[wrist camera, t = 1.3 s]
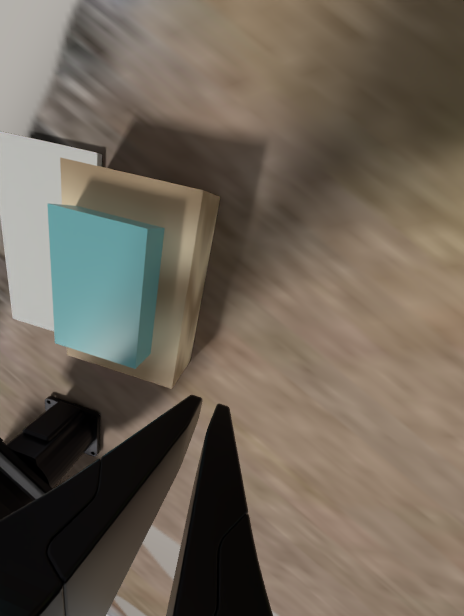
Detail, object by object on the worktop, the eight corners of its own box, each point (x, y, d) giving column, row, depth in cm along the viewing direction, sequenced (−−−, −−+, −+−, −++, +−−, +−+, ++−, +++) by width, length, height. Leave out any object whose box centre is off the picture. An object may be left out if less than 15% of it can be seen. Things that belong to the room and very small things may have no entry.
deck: (190, 361, 22) (171, 388, 19) (101, 333, 23) (66, 354, 20) (220, 197, 17) (203, 190, 14) (105, 170, 18) (60, 157, 15)
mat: (98, 341, 24) (94, 344, 23) (17, 316, 25) (12, 318, 24) (102, 154, 18) (97, 152, 17) (-3, 130, 19) (-11, 128, 18)
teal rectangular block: (150, 353, 18) (135, 369, 16) (77, 331, 19) (55, 343, 17) (164, 228, 15) (147, 228, 13) (75, 205, 15) (47, 203, 14)
